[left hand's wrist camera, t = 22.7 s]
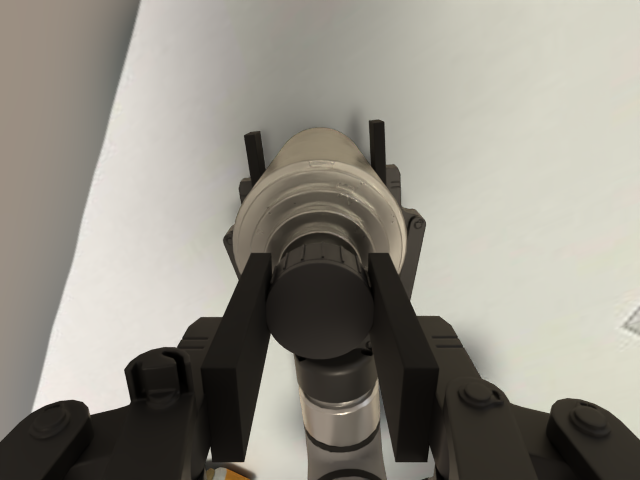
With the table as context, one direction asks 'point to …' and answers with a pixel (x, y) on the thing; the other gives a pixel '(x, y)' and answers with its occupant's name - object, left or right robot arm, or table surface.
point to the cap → (319, 301)
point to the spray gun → (223, 474)
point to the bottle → (319, 203)
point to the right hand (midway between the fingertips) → (313, 127)
